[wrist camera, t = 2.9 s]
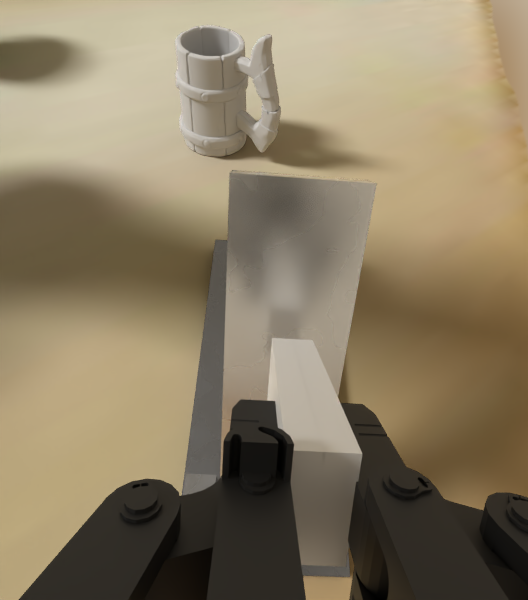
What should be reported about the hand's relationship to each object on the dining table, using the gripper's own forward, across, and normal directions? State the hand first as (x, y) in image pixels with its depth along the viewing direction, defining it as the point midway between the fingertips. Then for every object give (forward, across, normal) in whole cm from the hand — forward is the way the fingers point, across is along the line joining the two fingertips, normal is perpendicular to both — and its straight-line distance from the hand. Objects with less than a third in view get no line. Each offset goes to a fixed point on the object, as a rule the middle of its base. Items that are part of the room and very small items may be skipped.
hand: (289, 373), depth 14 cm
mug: (+32, -5, +13) cm, 35 cm away
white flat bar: (+3, 0, -2) cm, 4 cm away
